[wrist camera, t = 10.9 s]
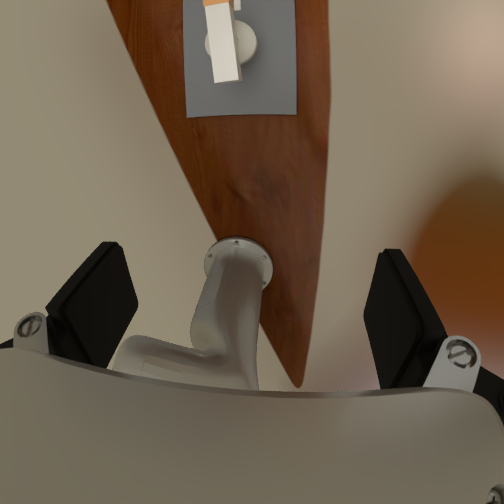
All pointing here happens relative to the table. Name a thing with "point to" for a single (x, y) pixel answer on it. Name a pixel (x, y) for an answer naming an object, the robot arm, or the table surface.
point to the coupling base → (253, 72)
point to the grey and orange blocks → (227, 41)
